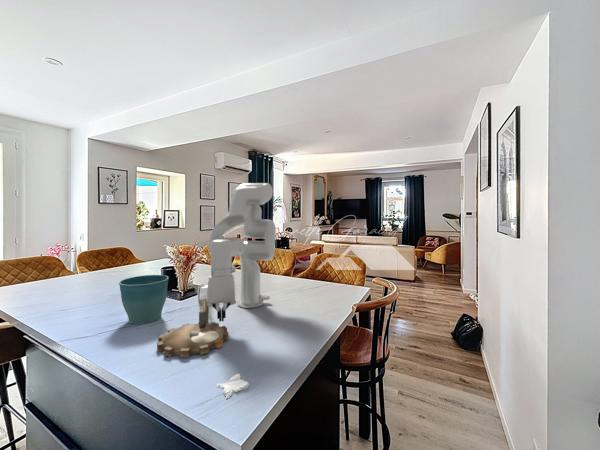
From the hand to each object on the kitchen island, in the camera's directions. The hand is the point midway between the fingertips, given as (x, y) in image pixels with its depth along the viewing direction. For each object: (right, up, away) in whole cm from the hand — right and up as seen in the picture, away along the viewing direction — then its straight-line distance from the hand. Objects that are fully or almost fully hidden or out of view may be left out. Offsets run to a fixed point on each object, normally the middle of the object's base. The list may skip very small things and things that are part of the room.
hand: (221, 320), depth 103 cm
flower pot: (-35, -4, +11) cm, 37 cm away
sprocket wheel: (-7, -4, -9) cm, 12 cm away
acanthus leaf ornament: (+13, -6, -34) cm, 36 cm away
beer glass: (-9, -4, +9) cm, 13 cm away
